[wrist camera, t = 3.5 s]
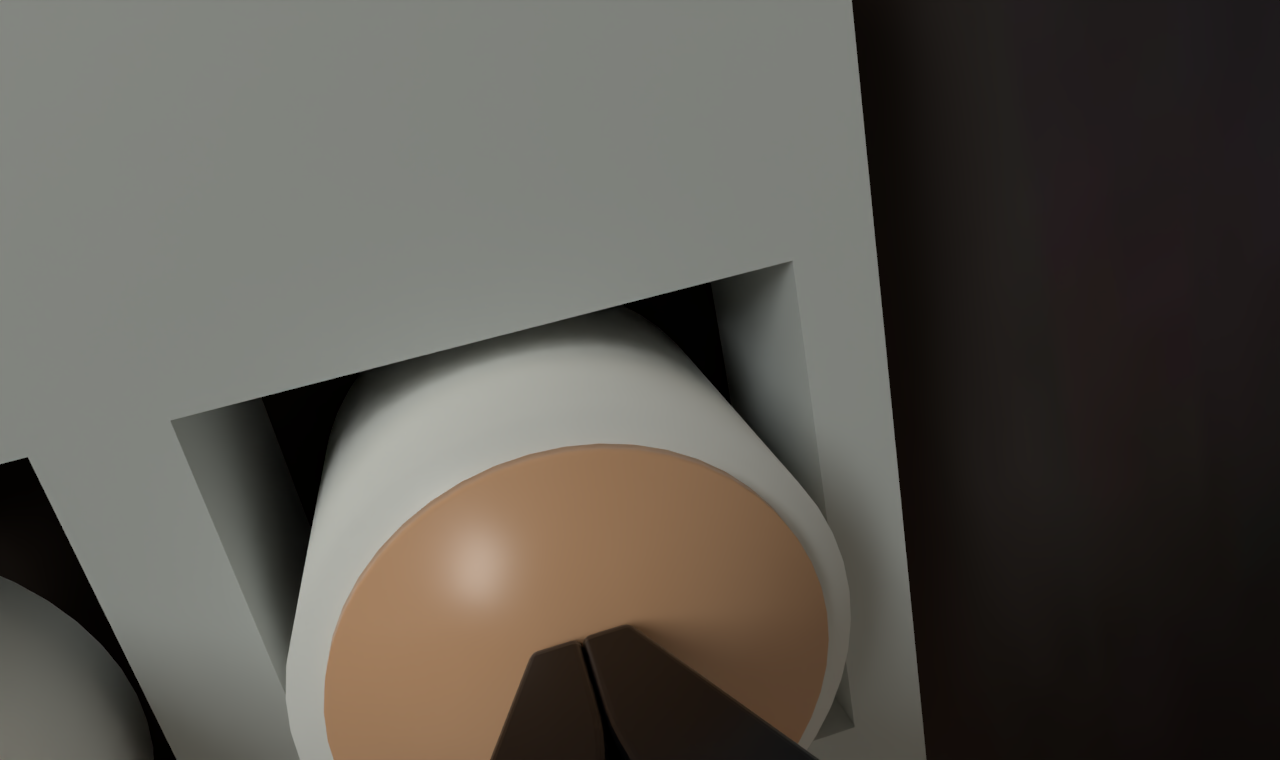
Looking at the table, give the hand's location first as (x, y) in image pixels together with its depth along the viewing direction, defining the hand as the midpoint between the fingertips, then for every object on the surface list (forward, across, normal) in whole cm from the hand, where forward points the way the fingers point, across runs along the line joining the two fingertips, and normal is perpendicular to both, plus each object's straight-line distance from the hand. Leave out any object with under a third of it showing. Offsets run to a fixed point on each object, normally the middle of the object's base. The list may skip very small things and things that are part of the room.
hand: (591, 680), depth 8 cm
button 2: (+4, 0, 0) cm, 4 cm away
